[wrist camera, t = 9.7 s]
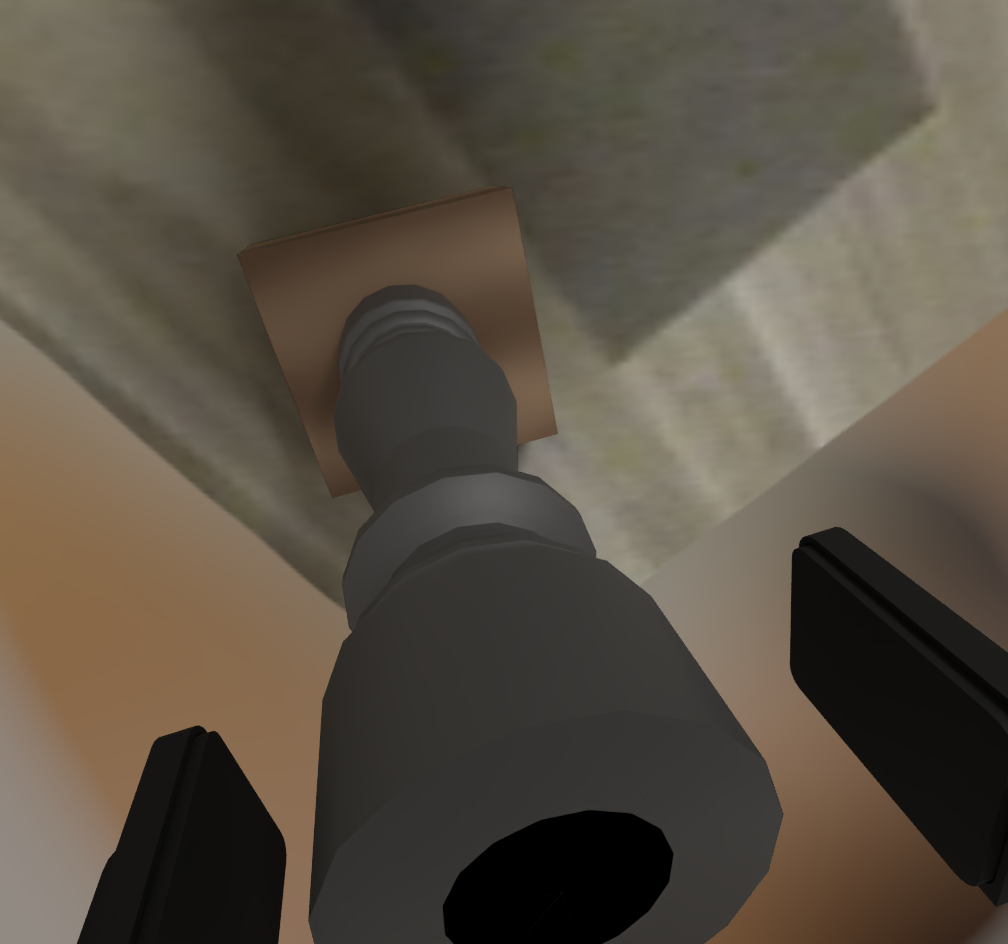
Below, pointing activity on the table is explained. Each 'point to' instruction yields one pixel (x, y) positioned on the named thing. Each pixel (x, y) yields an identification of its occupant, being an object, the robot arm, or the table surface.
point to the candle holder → (507, 690)
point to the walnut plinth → (400, 261)
